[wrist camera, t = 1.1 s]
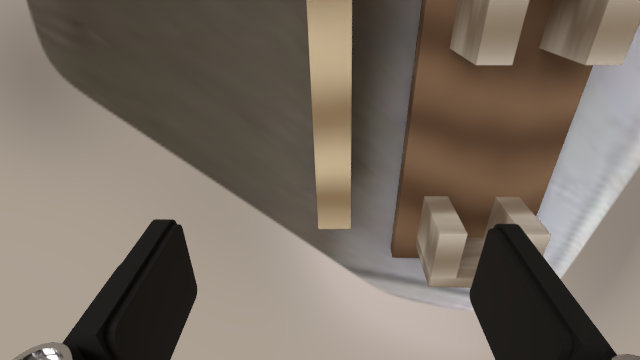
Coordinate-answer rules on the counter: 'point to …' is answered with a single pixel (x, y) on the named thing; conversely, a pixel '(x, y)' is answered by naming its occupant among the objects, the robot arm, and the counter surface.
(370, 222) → the counter surface
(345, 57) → the slat
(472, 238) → the board
